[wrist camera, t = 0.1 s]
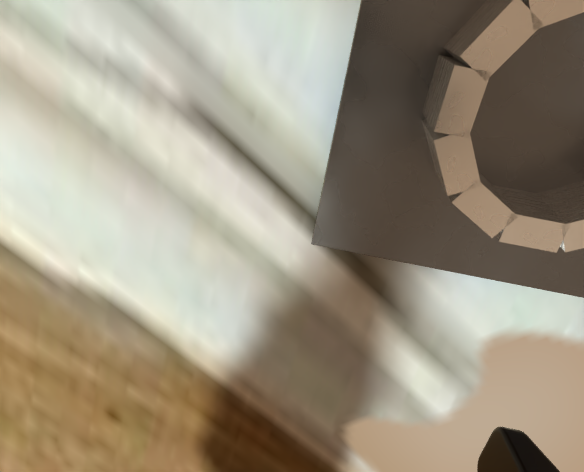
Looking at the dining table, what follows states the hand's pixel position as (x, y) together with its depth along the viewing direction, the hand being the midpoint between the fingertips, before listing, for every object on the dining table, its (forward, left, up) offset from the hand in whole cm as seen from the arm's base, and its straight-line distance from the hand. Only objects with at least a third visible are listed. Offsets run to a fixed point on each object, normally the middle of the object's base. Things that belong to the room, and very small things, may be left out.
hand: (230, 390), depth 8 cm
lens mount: (+4, -9, -15) cm, 18 cm away
